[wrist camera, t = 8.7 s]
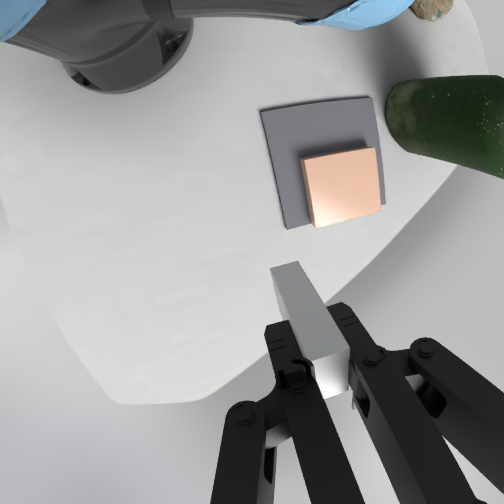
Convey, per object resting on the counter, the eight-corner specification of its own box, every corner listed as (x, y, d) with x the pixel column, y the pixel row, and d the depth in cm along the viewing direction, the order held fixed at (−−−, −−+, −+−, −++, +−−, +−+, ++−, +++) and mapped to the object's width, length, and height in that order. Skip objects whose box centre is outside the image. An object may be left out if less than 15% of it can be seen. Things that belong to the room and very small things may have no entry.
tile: (304, 160, 28) (374, 147, 29) (299, 158, 30) (367, 146, 30) (316, 228, 32) (381, 210, 32) (310, 223, 33) (373, 206, 34)
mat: (260, 112, 28) (261, 112, 27) (370, 98, 28) (372, 97, 28) (286, 228, 34) (287, 229, 33) (383, 202, 34) (385, 203, 34)
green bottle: (375, 134, 30) (561, 178, 8) (394, 67, 26) (564, 56, 4) (427, 165, 33) (577, 227, 10) (444, 104, 29) (590, 130, 6)
